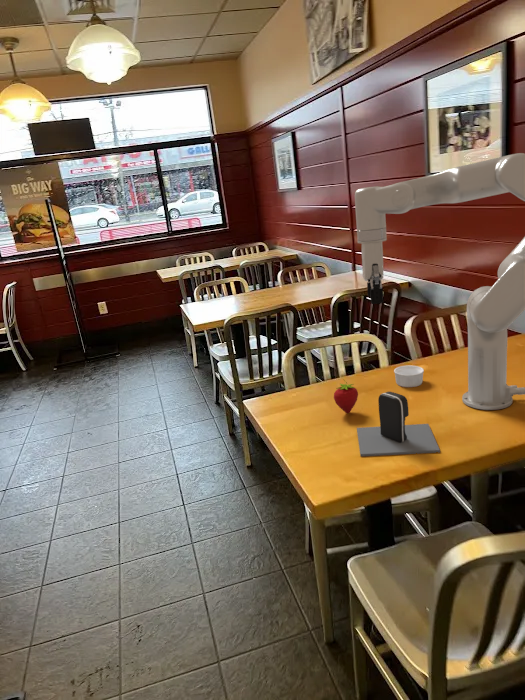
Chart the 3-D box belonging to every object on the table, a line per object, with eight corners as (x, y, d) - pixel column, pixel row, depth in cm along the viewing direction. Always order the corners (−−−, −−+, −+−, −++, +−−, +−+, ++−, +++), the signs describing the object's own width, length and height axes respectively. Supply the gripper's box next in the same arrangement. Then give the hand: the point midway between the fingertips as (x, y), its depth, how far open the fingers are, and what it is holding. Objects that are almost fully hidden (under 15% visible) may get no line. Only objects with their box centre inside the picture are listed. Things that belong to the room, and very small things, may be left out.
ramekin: (427, 379, 163) (427, 366, 162) (419, 389, 156) (418, 376, 155) (399, 376, 168) (399, 364, 167) (390, 386, 161) (390, 373, 160)
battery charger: (412, 438, 126) (410, 395, 122) (401, 444, 124) (399, 399, 120) (390, 430, 131) (387, 388, 128) (379, 435, 129) (376, 392, 126)
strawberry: (330, 415, 146) (327, 381, 143) (348, 406, 150) (346, 373, 147) (345, 420, 141) (343, 386, 138) (364, 411, 146) (362, 377, 143)
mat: (428, 425, 132) (428, 423, 132) (440, 452, 119) (439, 450, 119) (356, 430, 135) (356, 427, 135) (360, 456, 122) (360, 454, 122)
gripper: (355, 234, 145) (359, 294, 150) (359, 240, 129) (363, 307, 134) (382, 231, 144) (385, 292, 149) (390, 237, 128) (393, 305, 133)
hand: (375, 299), depth 141 cm, fingers open, 9 cm apart
